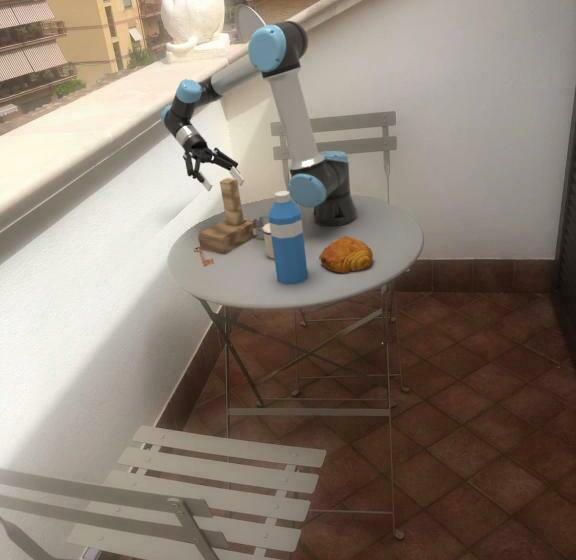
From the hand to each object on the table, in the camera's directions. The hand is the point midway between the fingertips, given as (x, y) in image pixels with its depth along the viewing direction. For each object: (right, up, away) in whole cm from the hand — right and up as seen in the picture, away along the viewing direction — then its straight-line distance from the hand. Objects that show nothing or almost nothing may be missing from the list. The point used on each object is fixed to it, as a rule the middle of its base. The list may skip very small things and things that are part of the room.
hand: (226, 185), depth 187 cm
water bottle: (+21, -30, -23) cm, 43 cm away
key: (-7, -24, -3) cm, 25 cm away
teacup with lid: (+17, -22, -7) cm, 29 cm away
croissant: (+37, -26, -19) cm, 49 cm away
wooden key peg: (+3, -16, +8) cm, 18 cm away
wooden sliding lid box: (0, -18, +5) cm, 19 cm away
